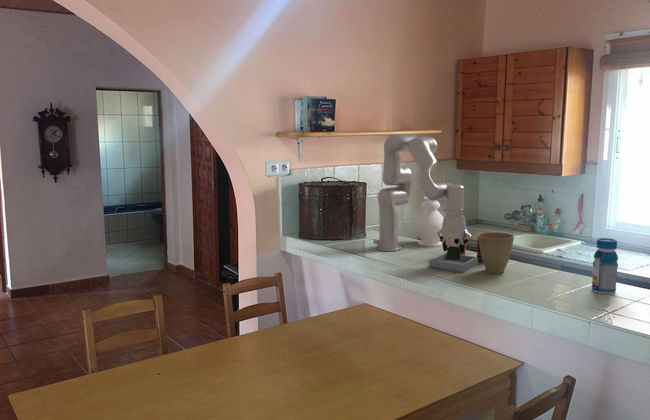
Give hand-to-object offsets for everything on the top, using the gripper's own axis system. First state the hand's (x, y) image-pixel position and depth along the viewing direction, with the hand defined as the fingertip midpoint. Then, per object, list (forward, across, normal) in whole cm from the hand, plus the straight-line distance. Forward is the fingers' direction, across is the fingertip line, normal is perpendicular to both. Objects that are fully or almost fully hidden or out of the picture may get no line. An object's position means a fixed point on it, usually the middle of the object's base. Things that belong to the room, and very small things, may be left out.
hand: (453, 251), depth 249 cm
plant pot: (+7, +18, +2) cm, 19 cm away
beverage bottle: (+7, +62, -4) cm, 63 cm away
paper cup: (+7, -5, +18) cm, 20 cm away
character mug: (+4, 0, 0) cm, 4 cm away
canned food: (+7, +8, +18) cm, 21 cm away
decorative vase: (+7, -30, +39) cm, 50 cm away
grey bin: (+7, 0, 0) cm, 7 cm away
